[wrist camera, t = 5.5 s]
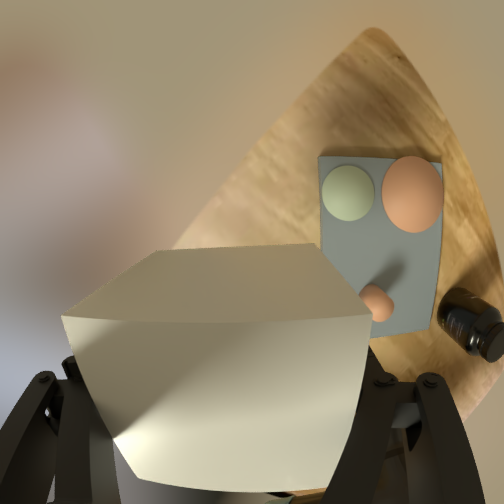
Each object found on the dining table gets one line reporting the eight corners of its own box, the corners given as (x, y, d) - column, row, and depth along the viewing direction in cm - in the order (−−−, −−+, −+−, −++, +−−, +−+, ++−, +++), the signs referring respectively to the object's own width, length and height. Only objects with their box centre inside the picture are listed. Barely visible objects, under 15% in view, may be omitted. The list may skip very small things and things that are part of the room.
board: (424, 325, 33) (442, 342, 28) (318, 339, 34) (325, 362, 29) (436, 159, 28) (459, 157, 23) (317, 153, 29) (327, 146, 24)
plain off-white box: (310, 375, 17) (333, 486, 9) (179, 376, 18) (137, 478, 9) (314, 243, 15) (373, 313, 7) (156, 250, 16) (60, 315, 7)
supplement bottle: (467, 278, 31) (520, 309, 20) (469, 316, 33) (514, 352, 21) (432, 298, 32) (483, 337, 20) (436, 336, 34) (478, 380, 22)
